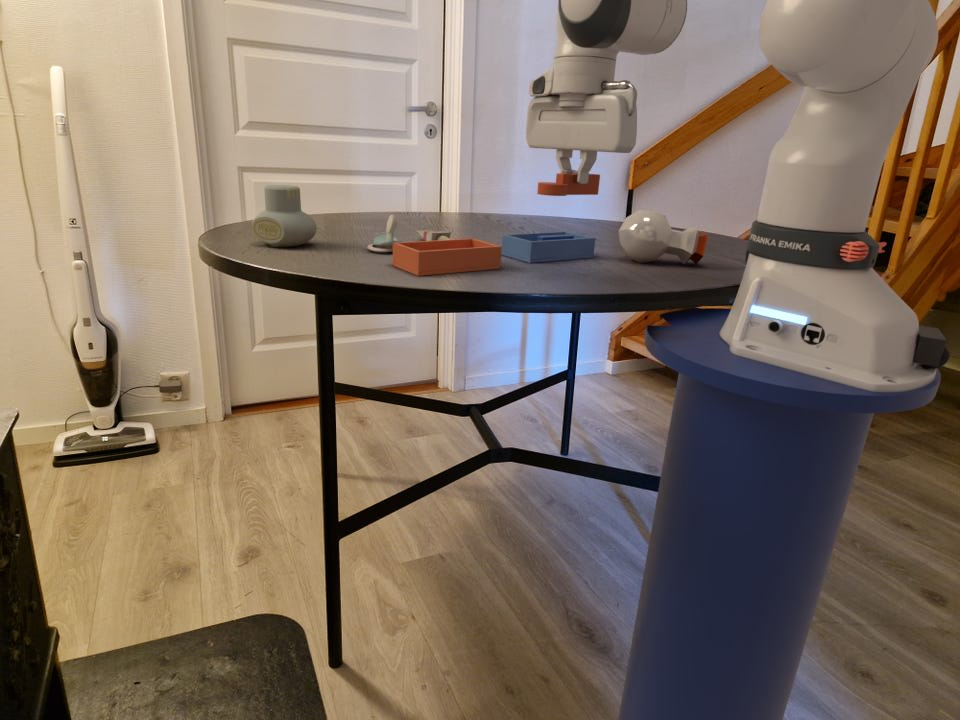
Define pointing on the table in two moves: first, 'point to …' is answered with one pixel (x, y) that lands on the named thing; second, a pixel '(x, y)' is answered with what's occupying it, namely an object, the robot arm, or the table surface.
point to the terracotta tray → (446, 256)
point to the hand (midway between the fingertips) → (573, 182)
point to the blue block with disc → (554, 237)
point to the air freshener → (283, 218)
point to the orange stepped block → (569, 186)
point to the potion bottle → (659, 238)
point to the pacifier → (386, 238)
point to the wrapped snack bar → (434, 235)
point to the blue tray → (547, 247)
